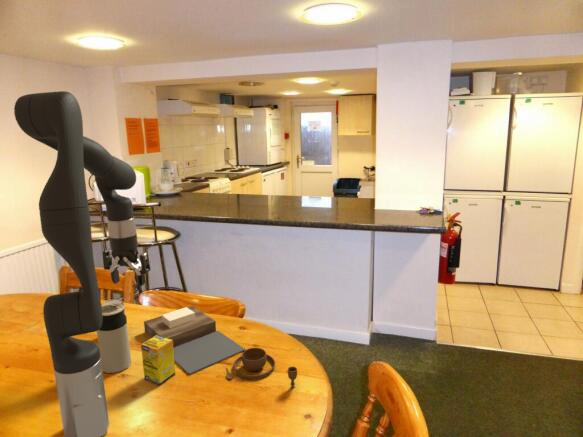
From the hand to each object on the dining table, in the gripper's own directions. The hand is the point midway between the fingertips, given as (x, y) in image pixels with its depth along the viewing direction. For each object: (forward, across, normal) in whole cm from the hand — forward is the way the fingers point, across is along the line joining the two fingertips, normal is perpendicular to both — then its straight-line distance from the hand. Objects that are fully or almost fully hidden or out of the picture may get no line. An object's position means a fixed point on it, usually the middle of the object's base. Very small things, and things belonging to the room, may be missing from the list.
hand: (128, 284), depth 124 cm
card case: (+18, +9, +12) cm, 23 cm away
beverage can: (+22, -10, +4) cm, 25 cm away
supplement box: (+21, +16, -13) cm, 29 cm away
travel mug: (+21, +1, -11) cm, 24 cm away
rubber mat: (+21, +23, +2) cm, 31 cm away
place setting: (+21, +43, -6) cm, 48 cm away
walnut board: (+22, +9, +11) cm, 26 cm away
